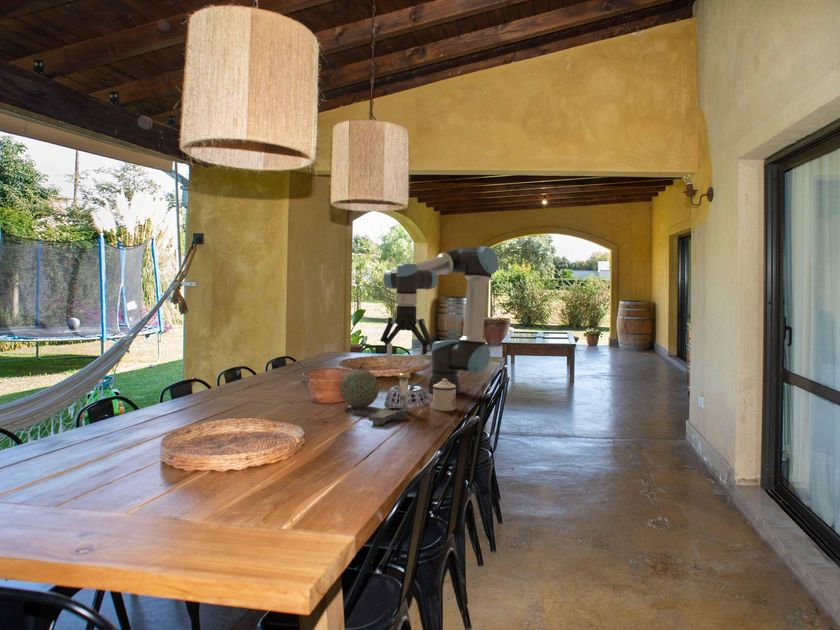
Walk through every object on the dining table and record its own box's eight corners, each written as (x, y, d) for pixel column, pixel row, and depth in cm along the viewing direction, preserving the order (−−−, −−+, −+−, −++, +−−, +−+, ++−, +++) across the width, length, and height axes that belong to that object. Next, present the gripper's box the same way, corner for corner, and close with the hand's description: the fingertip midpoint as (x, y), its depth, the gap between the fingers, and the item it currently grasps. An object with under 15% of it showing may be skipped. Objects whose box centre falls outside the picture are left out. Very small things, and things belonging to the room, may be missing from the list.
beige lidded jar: (457, 411, 225) (458, 381, 224) (433, 411, 224) (434, 380, 224) (453, 405, 237) (453, 376, 236) (430, 405, 236) (431, 375, 236)
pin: (400, 409, 227) (401, 372, 226) (411, 410, 225) (412, 373, 224) (394, 412, 222) (395, 374, 222) (406, 413, 220) (406, 375, 220)
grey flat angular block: (362, 410, 223) (362, 402, 223) (410, 416, 215) (410, 408, 215) (335, 420, 207) (335, 411, 207) (386, 427, 198) (387, 418, 198)
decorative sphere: (333, 410, 224) (333, 370, 223) (348, 402, 238) (349, 365, 238) (370, 413, 220) (371, 372, 219) (384, 405, 234) (384, 367, 234)
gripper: (372, 304, 223) (371, 360, 224) (433, 306, 212) (432, 365, 214) (381, 304, 229) (380, 358, 231) (441, 306, 219) (440, 363, 220)
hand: (405, 362), depth 222 cm, fingers open, 13 cm apart
